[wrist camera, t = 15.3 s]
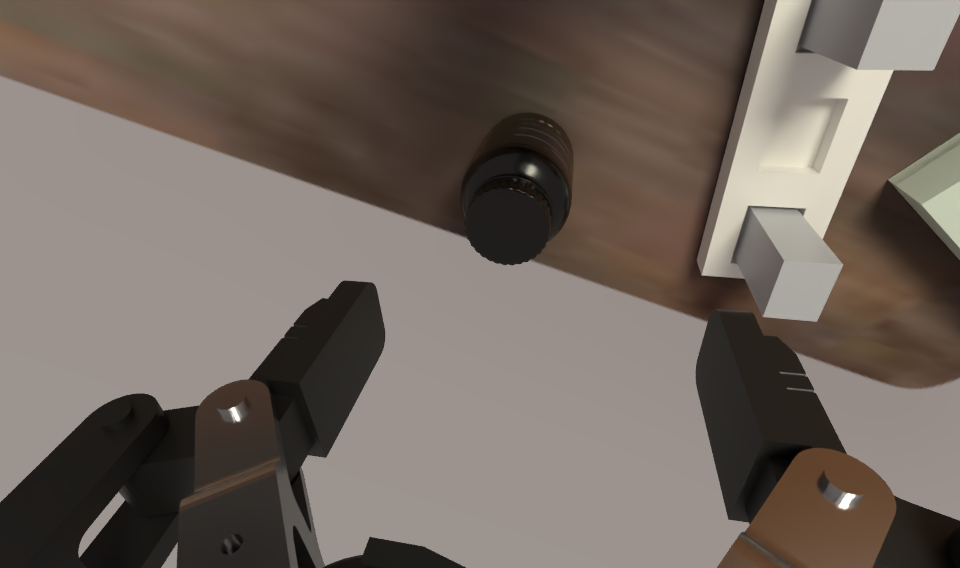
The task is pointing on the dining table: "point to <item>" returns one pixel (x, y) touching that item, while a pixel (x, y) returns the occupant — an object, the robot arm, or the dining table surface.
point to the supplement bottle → (518, 188)
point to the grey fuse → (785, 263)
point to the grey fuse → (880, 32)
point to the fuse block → (788, 134)
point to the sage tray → (935, 191)
